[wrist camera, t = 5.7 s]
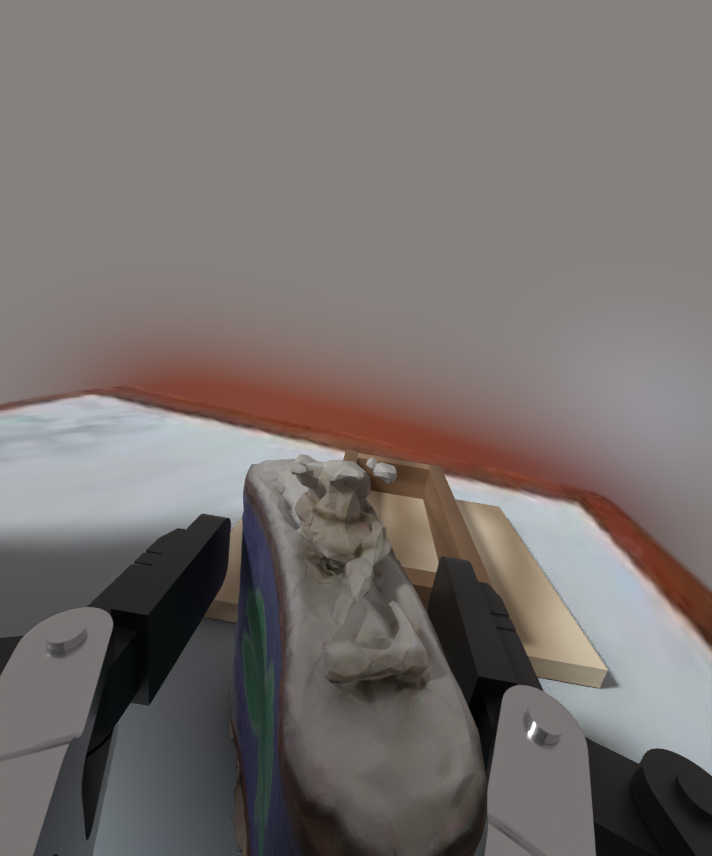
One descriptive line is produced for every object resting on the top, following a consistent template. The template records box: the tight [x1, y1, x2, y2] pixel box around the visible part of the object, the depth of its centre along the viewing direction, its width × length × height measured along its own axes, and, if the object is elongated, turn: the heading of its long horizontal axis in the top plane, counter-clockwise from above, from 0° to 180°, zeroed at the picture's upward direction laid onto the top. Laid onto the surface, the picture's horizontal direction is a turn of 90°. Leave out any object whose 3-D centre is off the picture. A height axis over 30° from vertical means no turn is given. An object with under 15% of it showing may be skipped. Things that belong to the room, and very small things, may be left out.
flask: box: [229, 455, 488, 856], centre depth 8 cm, size 9×3×11 cm, turn 20°
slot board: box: [204, 451, 608, 688], centre depth 21 cm, size 18×14×4 cm
